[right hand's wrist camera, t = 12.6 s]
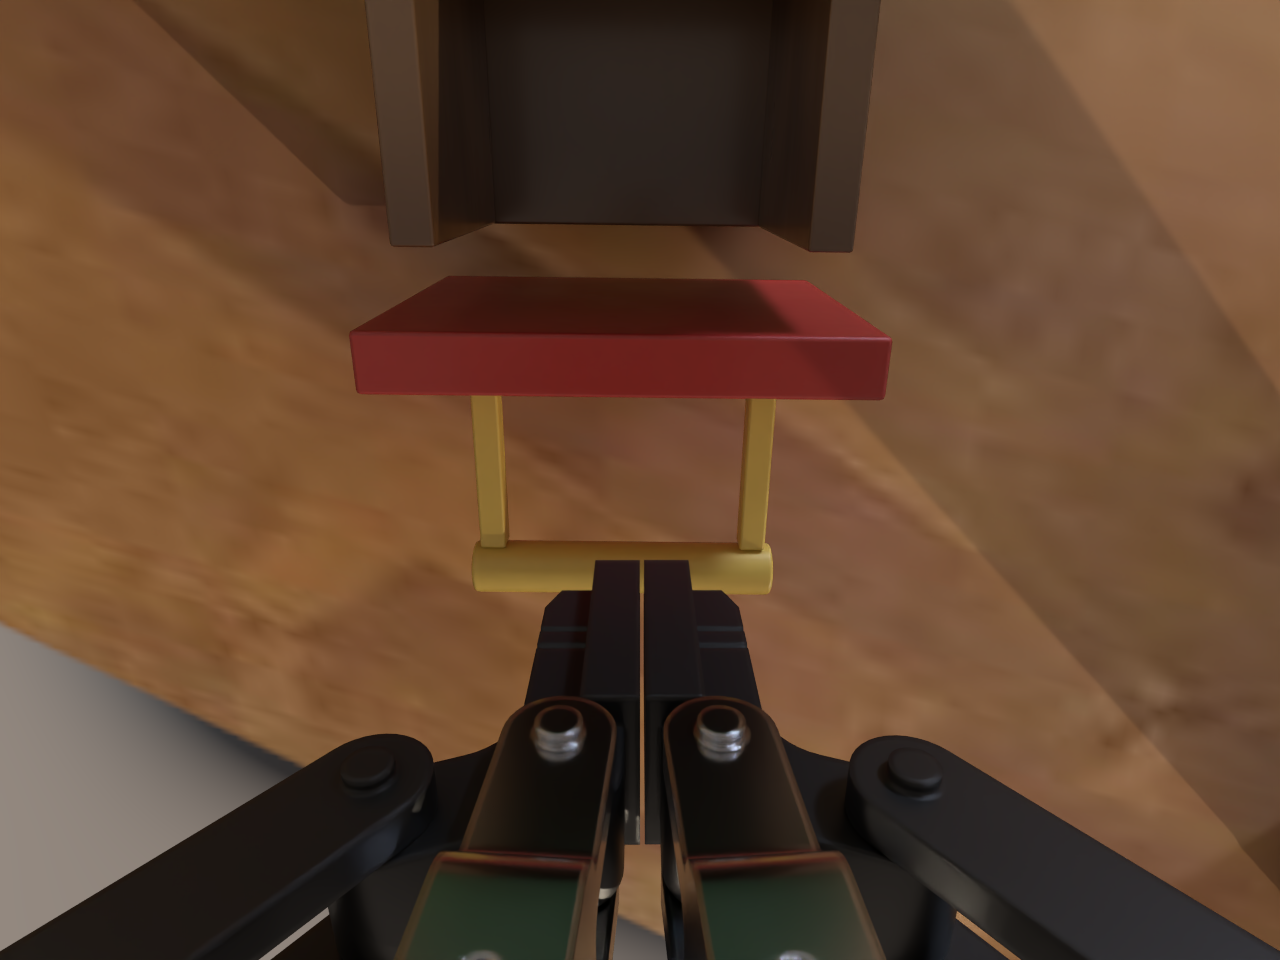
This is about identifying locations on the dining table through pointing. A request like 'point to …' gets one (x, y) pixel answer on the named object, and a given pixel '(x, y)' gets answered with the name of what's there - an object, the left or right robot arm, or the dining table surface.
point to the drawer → (622, 195)
